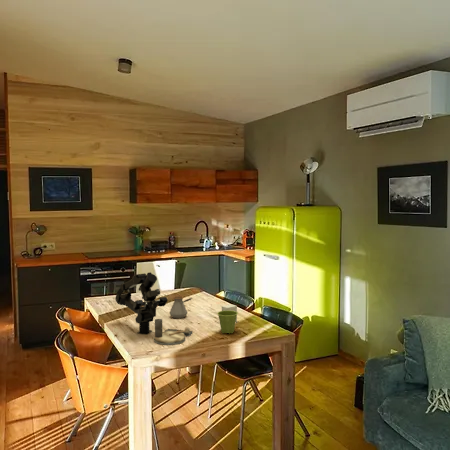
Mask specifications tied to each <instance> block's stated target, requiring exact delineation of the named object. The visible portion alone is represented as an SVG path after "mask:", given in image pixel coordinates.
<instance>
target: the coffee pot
mask: <svg viewBox="0 0 450 450" xmlns="http://www.w3.org/2000/svg"><path fill="white" fill-rule="evenodd" d="M183 299H184V297H183V296H173V300H174V301H173V303H172V306H171V308H170V311H169V316H170V317H171V318H173V319H183V318H185V317H186V316H187V314H188V310H187V309H186V306H185V303H186V302H189V301H190V302H192V300H193V298H192V297H190V298H187V299H185V300H183Z"/></svg>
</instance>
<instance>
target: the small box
mask: <svg viewBox="0 0 450 450" xmlns="http://www.w3.org/2000/svg"><path fill="white" fill-rule="evenodd" d="M227 310H229V311H236V312H238V306H237V305H235V304H230V303H229V304H227V305H222V306H221V311H227ZM236 323H238V316H237V317H236Z"/></svg>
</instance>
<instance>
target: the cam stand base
mask: <svg viewBox="0 0 450 450" xmlns="http://www.w3.org/2000/svg"><path fill="white" fill-rule="evenodd" d="M182 330H183V329H178V328H177V329H176V328H167V329H166V330H164V331H163V332H166V331H177V332H178V331H182ZM182 333H184V335H185V338H184V339H183V340H182V341H179V342H173V343H163V342H158V341H156V340H155V337H154V338H153V342H154V343H155V344H157V345H162V346H173V345H174V346H175V345H180V344H182V343H185V341H186V337H190V336H192V335H193V330H190V331H189V332H182ZM191 334H192V335H191Z"/></svg>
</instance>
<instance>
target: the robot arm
mask: <svg viewBox="0 0 450 450" xmlns="http://www.w3.org/2000/svg"><path fill="white" fill-rule="evenodd" d="M157 281H158V278H157V275H155V273H154V274H153V273H152V272H151V271H150V272H147V273H137V274H134V275H133V276H132V279H129V280H128V281H126V282H124V283H121V284H120V286H119V288H118V290H117V291H116V294H115V298H114V299H115V302H116V303H117V305H120V306H125V307H127V308H128V309H130V310H131V311H132V312H133V313H135V314H136V315H137V316H135V318H134V319H135V323H137V324H139V326H138V329H139V331H137V332H136V334H139V335H140V334H141V335H148V334H150V333H151V332H153V330H151V328H150V323H152V322H153V321H154V318H155V317H157V308H158V307H165V306H166V304H167V302H168V301H169V300H168V298H167V297H166V296H162V297H159V298H158V299H157V297H158V296H159V295H161V290H160V288H156V289H154V290H152V289H151V288H153V286H154V285H155V284H156V282H157ZM138 285H139V288H138V292H139V291H140V292H141V293H140V294H141V299H138V300H135V301H134V300H133V299H132V292H131V288H134V287H136V286H138ZM124 291H127V293H126V292H125V293H123V292H124Z"/></svg>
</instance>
